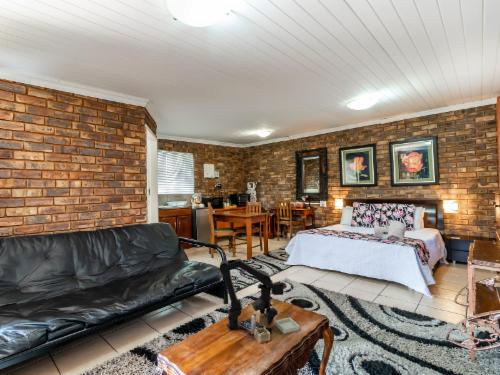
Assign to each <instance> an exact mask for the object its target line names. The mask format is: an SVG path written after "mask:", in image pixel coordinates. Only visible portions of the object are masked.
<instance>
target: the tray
mask: <svg viewBox="0 0 500 375" xmlns="http://www.w3.org/2000/svg"><path fill="white" fill-rule="evenodd" d="M274 326H275V327H276V328H277V329H278V330H279V332H281V333H282V334H283V335H286V334H291V333H293V332H297V331H300V325H299V324H298V323H297V322H296V321H295V320H294V319H292V318H291V317H286V318H281V319H278V320H275V321H274Z"/></svg>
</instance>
